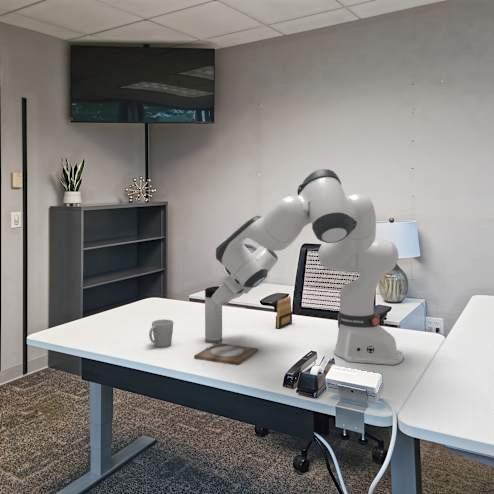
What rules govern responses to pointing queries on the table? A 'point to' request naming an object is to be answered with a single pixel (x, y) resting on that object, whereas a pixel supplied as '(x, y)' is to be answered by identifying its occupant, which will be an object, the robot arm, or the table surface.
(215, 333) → the travel mug
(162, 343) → the cup
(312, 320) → the table surface
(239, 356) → the board
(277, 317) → the ammunition clip
